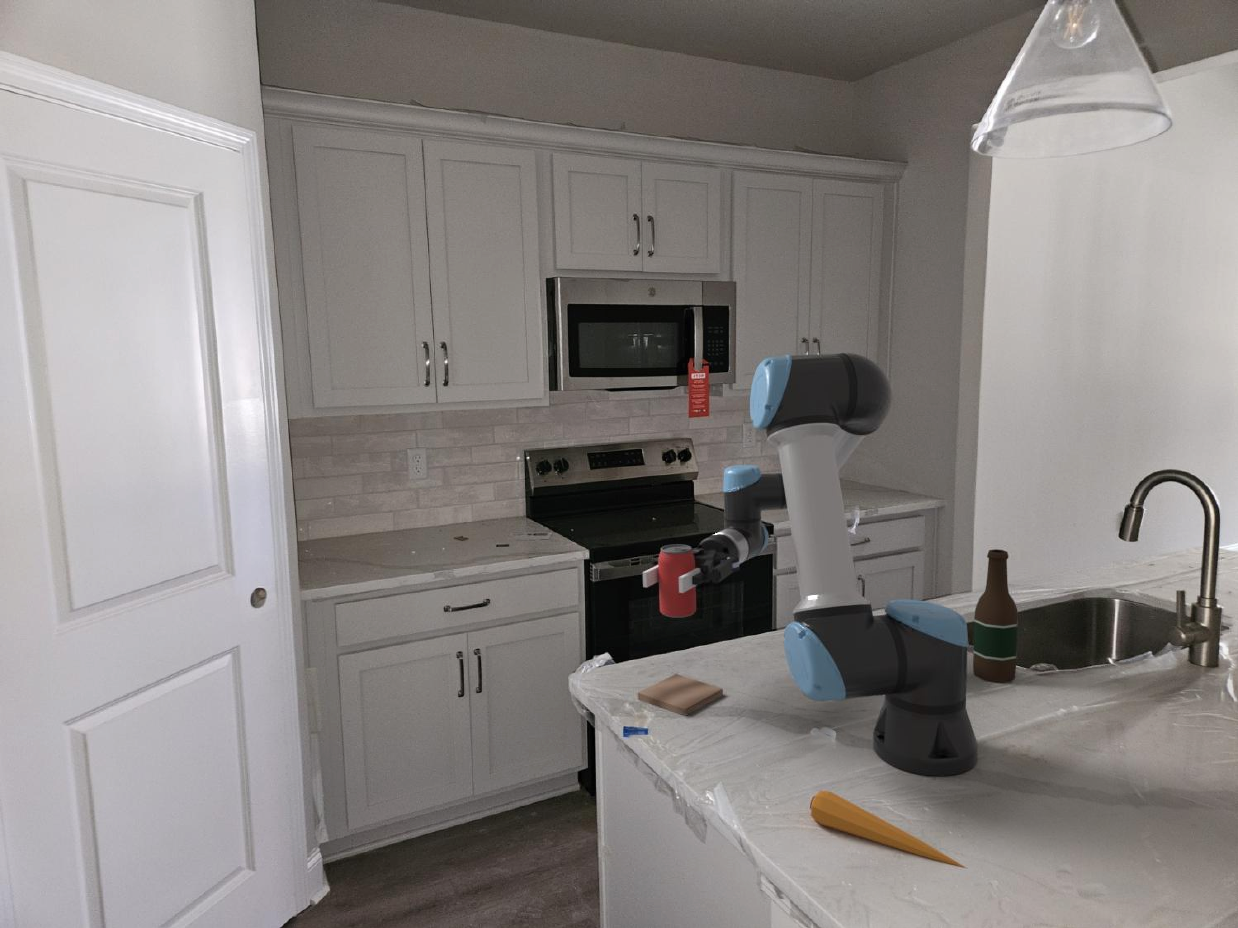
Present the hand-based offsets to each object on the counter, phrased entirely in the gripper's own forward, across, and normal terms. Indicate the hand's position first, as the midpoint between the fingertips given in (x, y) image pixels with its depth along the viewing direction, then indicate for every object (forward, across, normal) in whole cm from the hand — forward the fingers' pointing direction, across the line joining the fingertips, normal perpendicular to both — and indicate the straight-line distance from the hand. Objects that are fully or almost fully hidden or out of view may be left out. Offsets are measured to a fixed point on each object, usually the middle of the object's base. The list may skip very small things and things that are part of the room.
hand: (662, 582), depth 143 cm
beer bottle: (-41, -47, -23) cm, 67 cm away
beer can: (-5, 0, -7) cm, 9 cm away
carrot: (+21, -44, -23) cm, 54 cm away
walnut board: (-5, 0, -23) cm, 23 cm away
